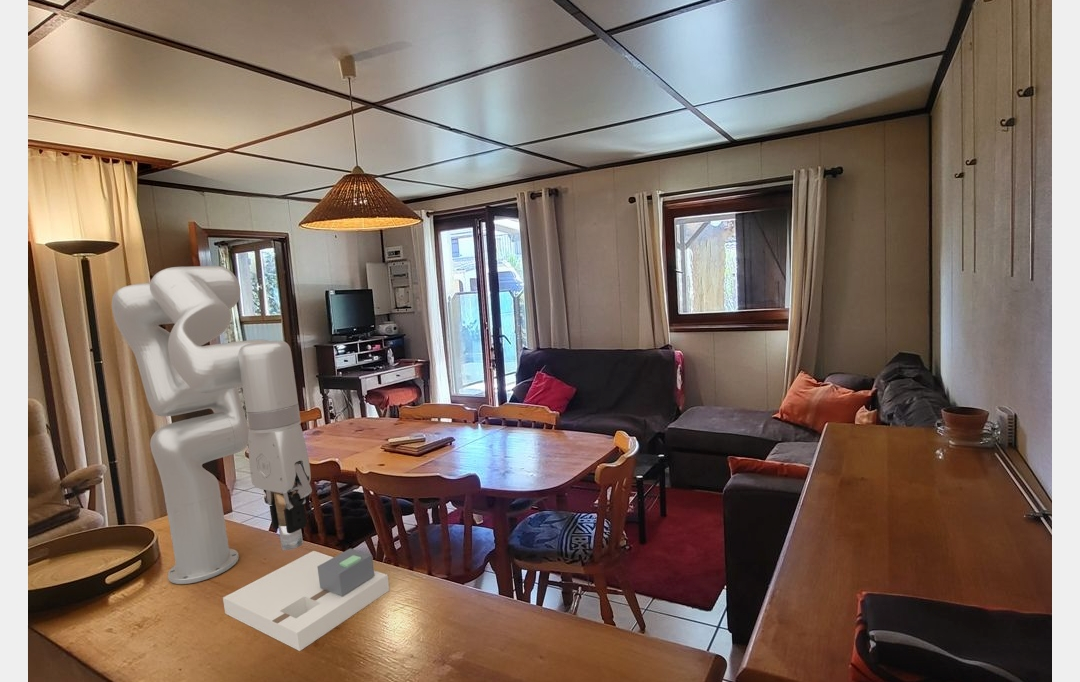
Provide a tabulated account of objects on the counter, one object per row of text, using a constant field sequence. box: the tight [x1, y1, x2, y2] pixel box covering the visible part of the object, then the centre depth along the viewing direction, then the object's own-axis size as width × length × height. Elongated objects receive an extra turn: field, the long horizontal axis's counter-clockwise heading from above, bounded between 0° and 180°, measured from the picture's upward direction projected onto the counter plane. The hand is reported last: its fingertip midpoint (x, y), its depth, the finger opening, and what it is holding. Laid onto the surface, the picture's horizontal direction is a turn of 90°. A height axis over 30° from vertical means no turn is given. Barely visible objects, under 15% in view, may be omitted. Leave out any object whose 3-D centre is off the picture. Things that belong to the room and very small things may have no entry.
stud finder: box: [317, 547, 375, 596], centre depth 96 cm, size 6×7×4 cm
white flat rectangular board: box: [222, 550, 390, 652], centre depth 96 cm, size 22×18×3 cm
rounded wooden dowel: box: [274, 483, 304, 551], centre depth 88 cm, size 3×3×10 cm
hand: (289, 526), depth 88 cm, fingers closed on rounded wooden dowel, 3 cm apart
